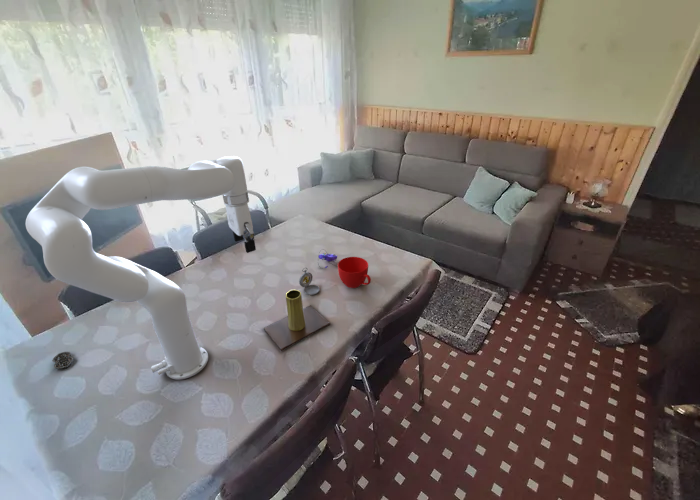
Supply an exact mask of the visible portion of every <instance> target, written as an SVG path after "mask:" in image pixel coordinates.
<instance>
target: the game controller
mask: <svg viewBox="0 0 700 500" xmlns="http://www.w3.org/2000/svg"><path fill="white" fill-rule="evenodd" d="M322 250H324V251H325V249H324V248H322V249H321V251H322ZM321 251H319V253H318V257H317V258H318V260H322V261H326V262H327V263H329V264H331V265H333V266H334V264H333V263H335V262H336V261H337V259H338V255H336V253H327V252H323V253H321V254H320V252H321ZM330 262H333V263H330ZM317 265H318V266H320V265H319V263H317ZM328 267H329V266H328V265H326V266H325V267H321V269H327V268H328ZM336 267H337V268H338V263H336Z"/></svg>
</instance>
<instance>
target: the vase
mask: <svg viewBox="0 0 700 500" xmlns="http://www.w3.org/2000/svg"><path fill="white" fill-rule="evenodd" d="M285 303H286V311H287V316H288V323H289V325H288V327H289V329H291V330H293V331H299V330H301V329H303V328H304V327H305V320H304V314H303V309H304V308H303V297H302V292H301V290H298V289H290V290H288V291H287V292H286V293H285Z"/></svg>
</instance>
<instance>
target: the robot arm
mask: <svg viewBox="0 0 700 500" xmlns="http://www.w3.org/2000/svg"><path fill="white" fill-rule="evenodd" d="M244 168H245V167H244V163H243V160H242V159H241V158H240V157H239V156H235V155H233V156H232V155H231V156H230V155H229V156H227V155H226V156H223V157H219V158H218V159H210V160H209V159H207V160H198V161H195V162H193V163H191V165H190V164H189V167H188V168H187V169H180V168H173V167H168V166H167V167H166V166H159V165H145V166H136V167H126V168H115V169H105V170H100V169H97V168H94V167H91V166H77V167H75V168H73V169H70V170H69V171H68V172H66V173H65V174H64V175H63V176H62V177H61V178H60V179H59V180H58V181H57V182H56V184H54V185H53V186H52V188H51V189H49V191H48V192H47V193H46V194H45V195H44V196H43V197H42V198H41V199H40V200H39V201H38V202H37V203H36V204H35V205H34V206H33V207H32V209H30V211H29V212H28V214H27V216H26V219H25V229H26V231H27V233H28V234H29V236H30V237H31V238H32V239H33V240H35V241H36V242H37V244H39V245H40V246H41V248H42V256H43V263H44V266H45V268H46V270H47V271H48V272H49V274H50V275H51V276H52V277H53V278H55V280H57V281H60V282H62V283H64V284H67V285H70V286H73V287H76V288H79V289H82V290H84V291H87V292H89V293H93V294H96V295H99V296H102V297H105V298H108V299H111V300H113V301H116V302H119V303H133V302H134V303H135V302H137V303H138V304H139V305H140V306H141V307H142V308H143V309H145V310H146V311H147V312H148V313H149V315H150V318H151V322H152V328H153V331H154V333H155V335H156V337H157V340H158V342H159V345H160V347H161V349H162V352H163V354H164V356H163V357H164V360H161V362H158V363H156V364H153V365H152V366H150V368H151V371H152V373H156V372H157V374H158V376H161V375H162V374H164V373H165V374H166V376H167V377H168V378H170V379H172V380H178V381H179V380H185V379H188V378H192V377H193V376H195V375H197V374H198V373H200V372H201V371H202V370H203V369H204V368H205V367H206V365H207V364H208V361H209V354H208V352H207V349H205V348H204V347H202V346H200V344H199V341H198V339H197V334H196V332H195V329H194V327H193V326H194V325H193V323H192V320H191V317H190V314H189V311H188V304H187V303H188V302H187V296H186V294H185V291H184V290H183V289H182V288H181V287H180V286H179V285H178V284H176V283H175V282H174V281H172V280H170V279H169V278H167V277H165V276H164V275H162V274H160V273H159V272H157V271H155V270H152V269H150V268H148V267H146V266H143V265H141V264H139V263H136V262H134V261H132V260H130V259H128V258H125V257H122V256H116V255H113V256H112V255H110V256H105V254H100V253H98V252H96V251H95V250H94V248H93V235H92V230H91V229H90V227H89V225H88V224H87V223H86V222H85V221H84V220H83V219H84V218H85V216H86V215H87V214H89V212H90V211H91V210H98V211H109V210H115V209H120V208H121V209H122V208H126V207H132V206H136V205H137V206H138V205H142V204H148V203H149V204H150V203H154V202H160V201H183V200H186V201H187V200H200V199H208V198H213V197H218V196H222V199H223V204H224V205H225V213H226V217H227V224H228V227H229V229H231V231H232V235H233V239H234V242H235V243H237V242H239V241H243V240H244V242H243V243H244V244H243V245H244V249H245V252H246V253H247V254H249V253H252V252H254V251H256V250H257V248H256V247H257V246H256V242H255V240H256V239H255V233H254V226H253V219H252V216H251V211H250V207H249V204H248V203H250V198H249V192H248V186H247V179H246V174H245V169H244Z"/></svg>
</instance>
